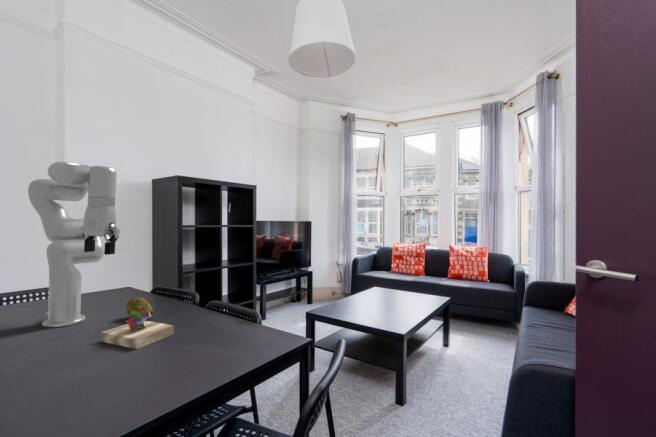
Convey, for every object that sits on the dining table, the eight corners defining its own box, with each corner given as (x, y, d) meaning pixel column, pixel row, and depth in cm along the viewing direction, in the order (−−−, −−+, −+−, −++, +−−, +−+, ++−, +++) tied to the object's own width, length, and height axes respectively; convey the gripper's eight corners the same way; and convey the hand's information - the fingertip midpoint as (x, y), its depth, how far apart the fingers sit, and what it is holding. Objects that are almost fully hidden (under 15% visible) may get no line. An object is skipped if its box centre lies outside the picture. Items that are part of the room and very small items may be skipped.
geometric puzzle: (129, 328, 98) (144, 305, 103) (115, 325, 101) (130, 302, 106) (145, 336, 104) (159, 313, 108) (132, 333, 106) (145, 311, 111)
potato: (130, 325, 117) (130, 304, 117) (124, 317, 127) (125, 297, 127) (154, 320, 122) (155, 300, 122) (147, 313, 132) (148, 294, 132)
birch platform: (101, 341, 101) (101, 332, 101) (140, 327, 114) (140, 319, 114) (136, 349, 95) (137, 339, 95) (173, 334, 108) (173, 325, 108)
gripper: (72, 201, 105) (70, 251, 105) (108, 203, 99) (106, 256, 99) (95, 202, 112) (93, 249, 112) (130, 204, 106) (128, 254, 106)
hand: (99, 252), depth 106 cm, fingers open, 9 cm apart
